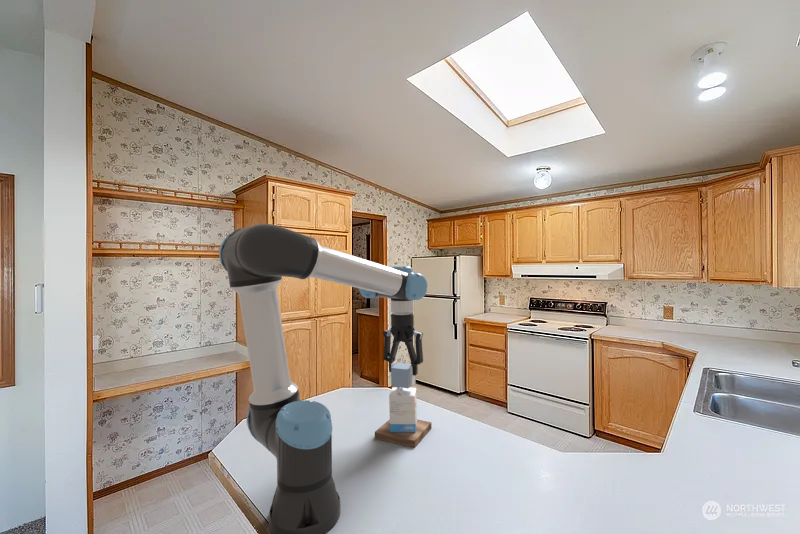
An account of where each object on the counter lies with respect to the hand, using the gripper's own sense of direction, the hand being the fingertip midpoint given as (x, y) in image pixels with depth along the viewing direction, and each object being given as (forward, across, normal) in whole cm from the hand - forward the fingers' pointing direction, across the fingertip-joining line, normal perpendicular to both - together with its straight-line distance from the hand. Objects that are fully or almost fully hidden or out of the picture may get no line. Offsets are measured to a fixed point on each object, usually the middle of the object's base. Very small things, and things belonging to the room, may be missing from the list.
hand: (403, 383), depth 115 cm
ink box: (+14, 0, 0) cm, 14 cm away
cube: (0, 0, 0) cm, 0 cm away
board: (+16, 0, 0) cm, 16 cm away
